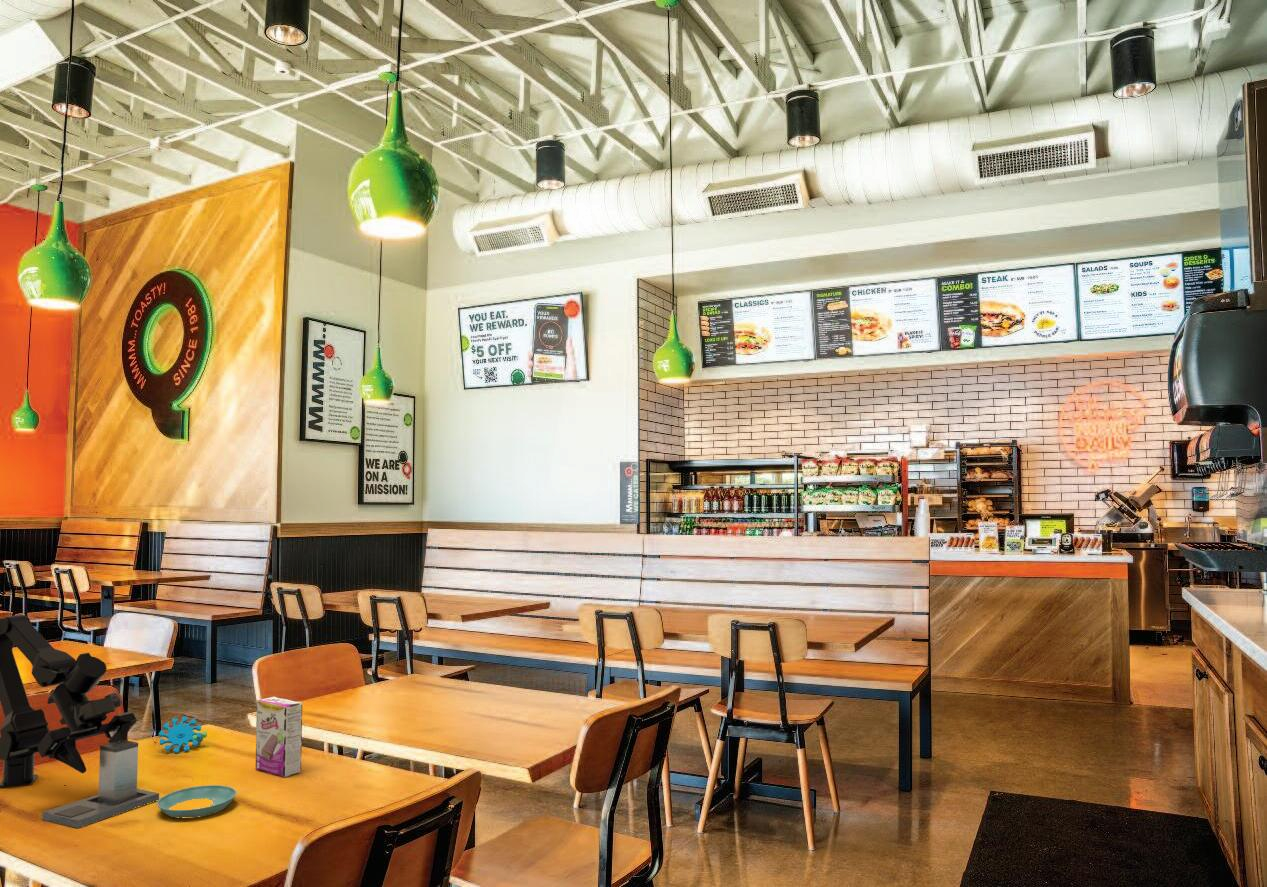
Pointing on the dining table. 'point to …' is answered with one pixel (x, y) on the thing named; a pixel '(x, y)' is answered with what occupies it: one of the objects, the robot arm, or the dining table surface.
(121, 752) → the grey tall block
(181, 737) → the gear
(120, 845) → the dining table surface
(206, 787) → the saucer
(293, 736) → the candy bar box
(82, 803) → the grey slotted plate
